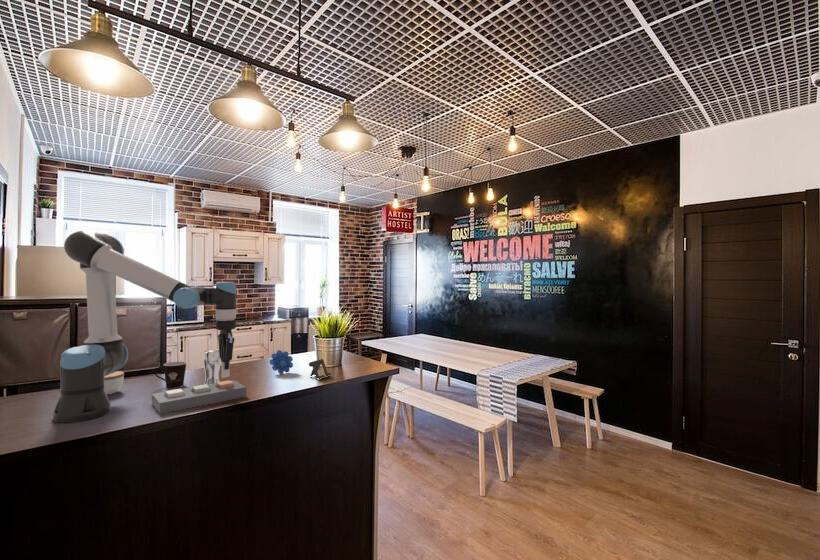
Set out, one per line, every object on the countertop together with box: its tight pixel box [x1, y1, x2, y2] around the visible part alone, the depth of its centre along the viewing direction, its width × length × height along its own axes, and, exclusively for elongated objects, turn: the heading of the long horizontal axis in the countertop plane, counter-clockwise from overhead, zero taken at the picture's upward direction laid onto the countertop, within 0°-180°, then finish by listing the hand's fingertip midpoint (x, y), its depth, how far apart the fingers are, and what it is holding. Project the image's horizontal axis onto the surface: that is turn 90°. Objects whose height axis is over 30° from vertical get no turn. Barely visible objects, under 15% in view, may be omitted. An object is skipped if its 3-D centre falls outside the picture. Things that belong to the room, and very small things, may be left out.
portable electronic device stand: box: [308, 358, 332, 379], centre depth 186 cm, size 9×8×8 cm
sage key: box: [191, 384, 210, 394], centre depth 150 cm, size 5×5×3 cm
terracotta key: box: [217, 380, 234, 389], centre depth 156 cm, size 5×5×3 cm
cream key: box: [164, 388, 184, 398], centre depth 143 cm, size 5×5×3 cm
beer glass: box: [203, 349, 222, 385], centre depth 173 cm, size 7×7×15 cm
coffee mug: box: [153, 361, 187, 389], centre depth 168 cm, size 12×9×10 cm
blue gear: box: [269, 349, 294, 374], centre depth 192 cm, size 12×7×12 cm, turn 121°
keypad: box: [151, 379, 247, 415], centre depth 150 cm, size 30×14×4 cm, turn 134°
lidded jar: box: [104, 370, 125, 396], centre depth 157 cm, size 11×11×9 cm
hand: (225, 376), depth 156 cm, fingers closed
